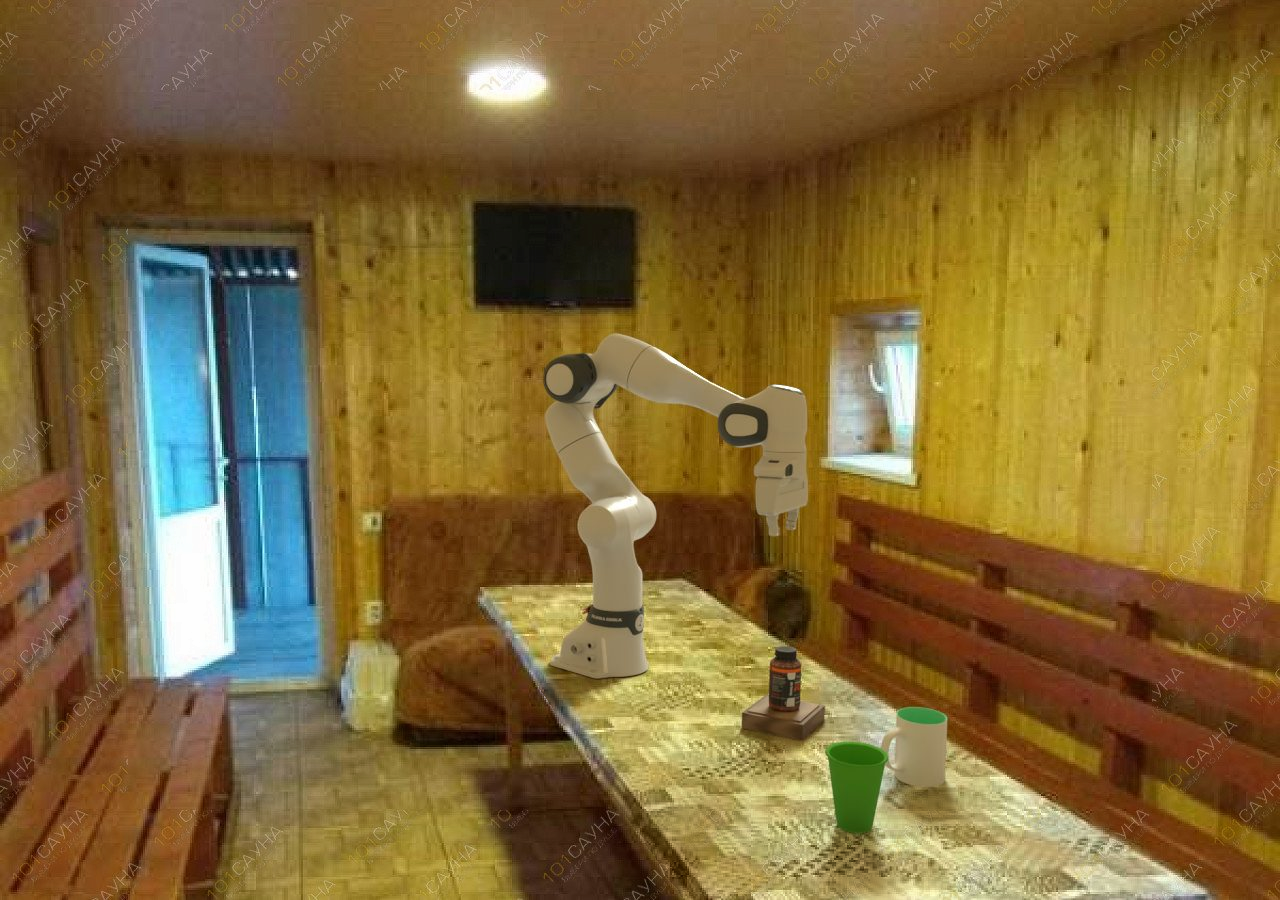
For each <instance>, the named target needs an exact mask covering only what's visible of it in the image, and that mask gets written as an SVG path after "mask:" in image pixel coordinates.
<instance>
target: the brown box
mask: <svg viewBox="0 0 1280 900" xmlns="http://www.w3.org/2000/svg"><path fill="white" fill-rule="evenodd" d="M825 711H826V705H824V704H818V703H813V702H808V701H803V700H800V707H799V708H798V709H797V710H795V711H779V710H775V709H773V708H771V707H770V706H769V694H765V695H764V696H762V697H761V698H760V699H758V700H757V701H755V702H754V703H753V704H752V705H751V706H748V708H746V709H745V710H743V711H742V712H741V729H744V730H749V731H753V732H756V733H757V732H758V733H763V734H768V735H772V736H777V737H781V738H787V739H790V740H791V739H792V740H796V741H800V742H803V741H804V740H805V739H807V738H808V737H809V736H810V735H811V734H812V733H813V732H815V730H816V729H817V728H819V726H820V725H822V724H823V723H824V722H825V715H826V714H825Z"/></svg>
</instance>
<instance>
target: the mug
mask: <svg viewBox="0 0 1280 900" xmlns="http://www.w3.org/2000/svg"><path fill="white" fill-rule="evenodd" d="M895 718H896V720H895V722H896V723H895V728H891V729H890V730H888V731H887V732H886V733H885V735H884V736H883V737H882V739H881V744H880V748H881V749H883V750H884V751H885V752H886V753H887V755H888V756H889V752H890V751H889V750H890V745H891V742H892V741H893V740H894V739H895V743H894V744H895V745H894V748H895V752H894V763H893V764H891V763H890V762H891V761H890V759H889V757H888V761H887V762H886V763H885V767H886V768H887V769H889V770H891V771H894V776H895V778H896V779H897V780H899V781H900V782H902V783H904V784H907V785H910V786H915V787H919V788H920V787H921V788H936V787H938V786H942V785H943V784H944V783H945V781H946V765H947V764H946V761H947V758H946V757H947V737H948V735H947V734H948V717H947V715H946V714H945V713H943V712H941V711H939V710H935V709H933V708H928V707H920V706H908V707H903V708H900V709H898V710H897V711H896V715H895Z"/></svg>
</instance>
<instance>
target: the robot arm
mask: <svg viewBox="0 0 1280 900" xmlns="http://www.w3.org/2000/svg"><path fill="white" fill-rule="evenodd" d="M542 383H543V387H544V389H545V391H546V393H547V394H548V396H549V397H551V398H552V400H555V401H554V402H553V403H551V404H550V405H549V406H548V408H547V409H546V410H545V414H544V421H545V425H546V429H547V432H548V434H549V437H550V440H551V443H552V444H553V447H554V450H555V451H556V454H557V456H558V459H559V461H560V462H561V464H562V466H563V468H564V470H565V472H566V474H567V476H568V478H569V480H570V482H571V484H572V485H573V486H574V488H576V489H577V490H579V491H580V492H582V494H584V495H585V496H586V497H587V498H588V499H589V501H590V502H591V503H590V504H589V505H588V506H587V507H586V508H585V509H584V510H582V512H581V513H580V515H579V517H578V520H577V531H578V532H577V533H578V535H579V537H580V539H581V540H582V542H583V543H584V544H585V545H586V548H587V551H588V556H589V559H590V564H591V570H592V604H590V605H588V606H587V607H585V608H583V609H582V611H583V612H582V614H583V615H584V614H587V615H586V618H585V620H584V621H583V622H582V623H580V624H579V625H578V626H576V627H574V628H573V629H572V630H571V631H569V632H568V633H566V635H565V636H564V637H563V638H562V641H561V646H560V647H561V648H560V652H559V653H557V654H555V655H554V656H552V658H551V659H550V662H549V663H550V666H552V667H555V668H558V669H561V670H562V669H563V670H566V671H569V672H572V673H576V674H579V675H583V676H585V677H588V678H592V679H607V678H618V677H630V676H636V675H639V674H642V673H645V672H646V671H647V670H648V669H649V663H648V660H647V656H646V651H645V644H644V634H643V633H644V625H645V605H643V570H642V569H641V567H640V566H639V564H638V563H637V562H638V561H637V558H636V554H635V549H634V548H635V546H634V542H635V541H637V540H639V539H642V538H643V537H645V536H646V535H647V534H648V533H649V532H650V531H651V530H652V528H654V525H655V524H656V521H657V510H656V506H655V505H654V502H653V501H652V500H651V499H650V498H649V497H647V496H646V495H644V494H643V493H642V492H641V491H640V490H639V489H638V487H637V486H636V485H635V484H634V482H633V481H632V480H631V479H630V477H629V476H628V475H627V474H626V473H625V471H624V470H623V469H622V467H621V466H620V465H619V463H618V461H617V460H616V458H615V455H614V454H613V453H612V450H611V449H610V446H609V444H608V442H607V440H606V439H605V437H604V435H603V433H602V431H601V429H600V427H599V426H598V423H597V422H596V421H597V420H596V419H595V416H594V409H595V410H596V409H600V408H601V407H602V406H603V405H604V404H605V402H607V400H608V399H609V398H610V397H611V396H612V395H613V394H614V393H615V392H616V390H617V389H618V388H619V387H621V388H623V389H625V390H626V391H628V392H630V393H632V394H634V395H636V396H637V397H640V398H642V399H644V400H647V401H650V402H654V403H658V404H670V405H671V404H673V405H674V404H675V405H685V406H691V407H694V408H698V409H700V410H703V411H704V412H706V413H709V414H711V415H712V416H715V417H717V424H716V425H717V431H718V435H719V436H720V438H721V439H722V440H723V441H724V442H725V443H726V444H728V445H729V446H732V447H736V448H751V447H762V456H761V457H760V459H759V461H758V462H757V463H756V464H755V465H754V467H753V475H754V477H757V478H756V480H755V487H754V488H755V489H754V491H755V492H754V495H755V509H756V513H757V514H758V515H761V516H765V519H766V524H767V527H768V535H769V537H777V536H779V535H780V530H781V528H780V526H779V523H778V520H779V515H780V514H783V513H786V512H787V513H788V515H787V520H786V521H785V529H786V530H787V531H793V530H796V529H797V521H798V518H799V514H800V508H803V507H805V506H807V504H808V501H809V485H808V483H809V480H808V474H807V445H806V435H807V432H808V406H807V400H806V396H805V393H804V392H803V391H802V390H800V389H799V388H795V387H793V386H787V385H781V384H770V385H768V386H766V388H765V389H763V390H762V391H760V392H758V393H756V394H754V395H752V396H750V397H743V396H742V395H739V394H737V393H734V392H732V391H730V390H728V389H727V388H724V387H722V386H720V385H718V384H716V383H714V382H712V381H710V380H708V379H706V378H704V377H703V376H701V375H699V374H698V373H696V372H695V371H693V370H692V369H690V368H689V367H686V365H684V364H682V363H681V362H679V361H678V360H676V358H674V357H672V356H671V355H669V354H668V353H666V352H664V351H662V350H661V349H659V348H657V347H655V346H653V345H651V344H649V343H647V342H646V341H643V340H640V339H638V338H635V337H632V336H629V335H625V334H621V333H612V334H609V335H607V336H606V337H605V338H604V339H603V340H602V341H601V342H600V343H599V345H598V347H597V349H596V351H595V352H594V353H586V352H581V353H568V354H563V355H560V356H558V357H555V358H553V359H552V360H551V361H549V363H547V365H546V367H545V368H544V371H543V375H542Z"/></svg>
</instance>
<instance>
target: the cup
mask: <svg viewBox="0 0 1280 900" xmlns="http://www.w3.org/2000/svg"><path fill="white" fill-rule="evenodd" d="M824 753H825V755H826V756H827V760H828V767H829V777H830V781H831V789H832V791H831V792H832V797H833V807H834V814H835V822H836V823H837V825H838V827H839V828H840V829H841V830H843V831H844V832H846V833H847V832H848V833H851V834H865V833H868V832H870V831H871V830H872V828H873V826H874V822H875V816H876V811H877V806H878V803H879V796H880V792H881V791H880V790H881V785H882V782H883V776H884V773H885V772H884V771H885V767H886V766H885V763H886V762H887V761H888V758H889V754H888V755H887V753H886V752H885V751H884V750H883V749H881V747H880V746H876V745H873V744H870V743H866V742H861V741H840V742H839V741H838V742H835V743H832V744H829V745H828V746H827V747H826V749H825V752H824Z"/></svg>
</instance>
